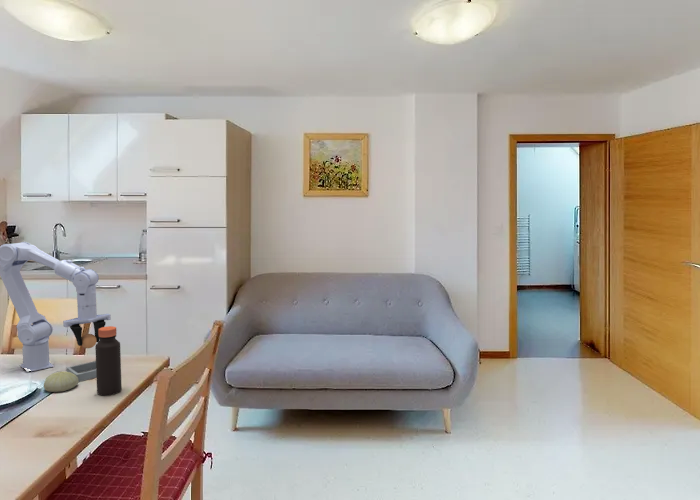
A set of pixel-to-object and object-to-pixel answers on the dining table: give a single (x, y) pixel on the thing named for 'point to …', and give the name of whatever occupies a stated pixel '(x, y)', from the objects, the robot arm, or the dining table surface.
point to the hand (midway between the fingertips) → (88, 343)
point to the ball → (88, 341)
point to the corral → (81, 368)
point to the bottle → (108, 362)
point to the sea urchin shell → (60, 381)
